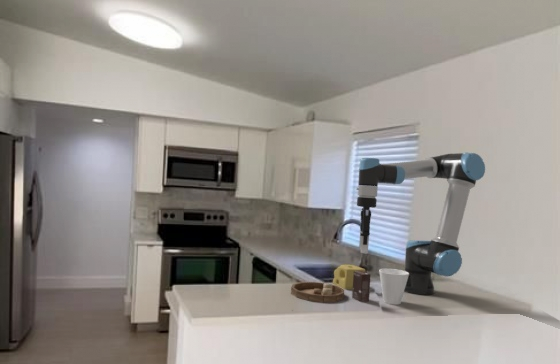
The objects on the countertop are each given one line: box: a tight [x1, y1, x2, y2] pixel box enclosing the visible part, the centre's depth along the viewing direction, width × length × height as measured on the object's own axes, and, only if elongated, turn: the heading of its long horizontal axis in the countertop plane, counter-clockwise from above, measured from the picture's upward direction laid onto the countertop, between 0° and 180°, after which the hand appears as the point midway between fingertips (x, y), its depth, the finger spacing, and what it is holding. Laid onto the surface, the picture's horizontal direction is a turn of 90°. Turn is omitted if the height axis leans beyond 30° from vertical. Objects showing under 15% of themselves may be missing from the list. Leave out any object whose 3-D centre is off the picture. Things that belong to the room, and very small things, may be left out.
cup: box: [378, 268, 409, 306], centre depth 174 cm, size 12×12×12 cm
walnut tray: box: [290, 281, 345, 303], centre depth 173 cm, size 21×21×4 cm
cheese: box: [332, 264, 366, 290], centre depth 191 cm, size 10×11×10 cm
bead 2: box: [322, 288, 332, 295], centre depth 168 cm, size 4×4×4 cm
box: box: [351, 271, 371, 303], centre depth 169 cm, size 6×4×12 cm
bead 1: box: [323, 282, 333, 289], centre depth 176 cm, size 4×4×4 cm
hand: (363, 250), depth 170 cm, fingers open, 13 cm apart
